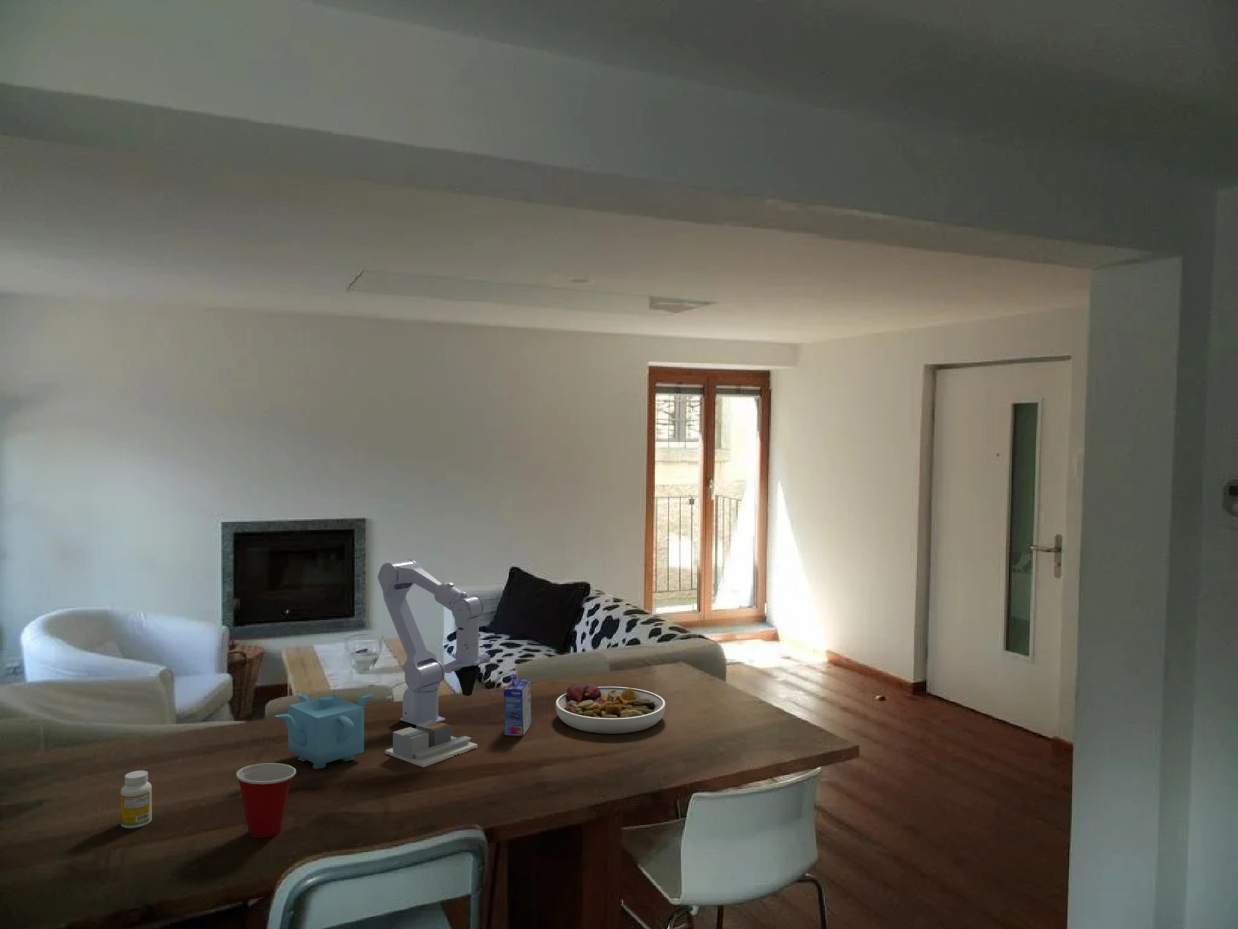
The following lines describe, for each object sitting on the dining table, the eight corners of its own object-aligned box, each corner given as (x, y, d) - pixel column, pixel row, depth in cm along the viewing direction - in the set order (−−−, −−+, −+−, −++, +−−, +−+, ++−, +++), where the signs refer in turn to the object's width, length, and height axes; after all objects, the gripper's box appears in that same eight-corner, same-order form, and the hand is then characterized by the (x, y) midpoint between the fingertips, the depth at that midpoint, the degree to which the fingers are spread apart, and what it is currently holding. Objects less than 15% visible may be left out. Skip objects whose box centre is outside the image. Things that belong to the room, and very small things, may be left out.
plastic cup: (303, 835, 169) (303, 773, 169) (243, 849, 163) (243, 785, 163) (287, 815, 178) (287, 756, 178) (230, 828, 172) (230, 767, 172)
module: (416, 745, 217) (416, 724, 217) (432, 739, 221) (432, 719, 221) (435, 751, 213) (435, 730, 213) (450, 746, 217) (450, 725, 217)
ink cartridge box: (511, 723, 237) (511, 669, 237) (531, 724, 237) (531, 670, 236) (502, 735, 228) (503, 679, 227) (523, 736, 227) (524, 680, 227)
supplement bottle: (128, 817, 176) (128, 769, 176) (156, 817, 177) (156, 768, 176) (115, 829, 171) (115, 779, 171) (144, 828, 171) (144, 779, 171)
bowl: (684, 715, 247) (685, 687, 247) (627, 746, 222) (628, 715, 222) (595, 697, 263) (596, 671, 263) (533, 724, 238) (533, 695, 238)
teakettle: (354, 773, 201) (355, 709, 201) (270, 773, 200) (271, 709, 200) (374, 745, 220) (374, 686, 219) (297, 744, 219) (298, 685, 219)
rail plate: (385, 753, 213) (385, 729, 213) (439, 735, 227) (440, 712, 227) (423, 767, 205) (423, 741, 205) (477, 747, 218) (477, 723, 218)
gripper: (456, 650, 222) (456, 704, 222) (498, 640, 234) (498, 691, 234) (438, 646, 226) (437, 699, 227) (479, 636, 238) (479, 687, 238)
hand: (467, 695), depth 231 cm, fingers closed
